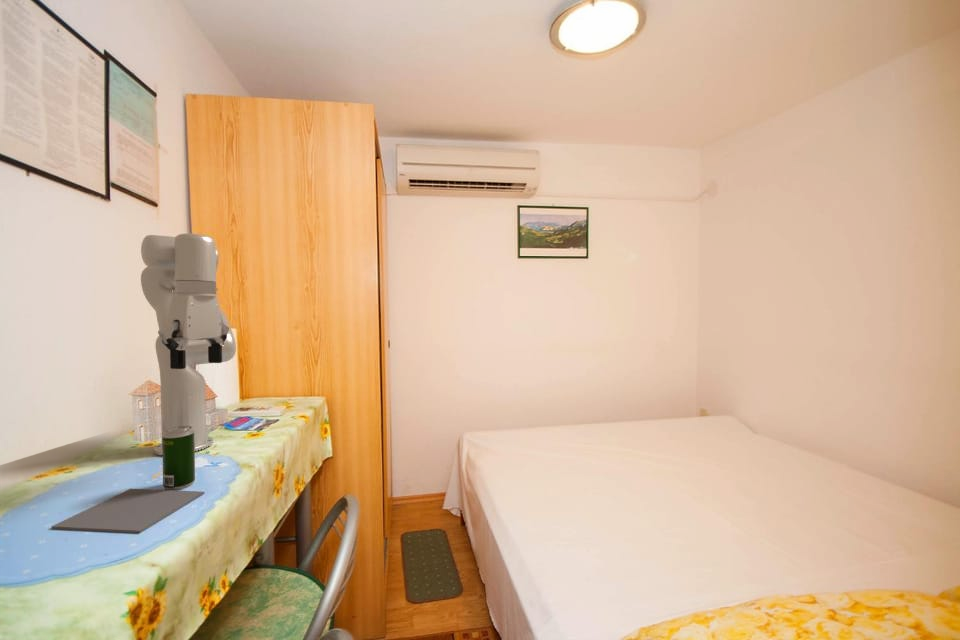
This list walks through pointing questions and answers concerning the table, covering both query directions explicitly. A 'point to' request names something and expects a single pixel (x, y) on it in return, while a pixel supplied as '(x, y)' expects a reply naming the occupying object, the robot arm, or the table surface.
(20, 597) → the table surface
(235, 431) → the table surface
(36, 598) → the table surface
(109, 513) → the mat
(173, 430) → the green soda can
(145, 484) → the table surface
